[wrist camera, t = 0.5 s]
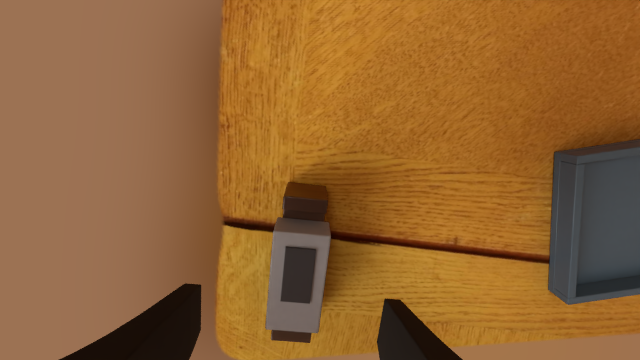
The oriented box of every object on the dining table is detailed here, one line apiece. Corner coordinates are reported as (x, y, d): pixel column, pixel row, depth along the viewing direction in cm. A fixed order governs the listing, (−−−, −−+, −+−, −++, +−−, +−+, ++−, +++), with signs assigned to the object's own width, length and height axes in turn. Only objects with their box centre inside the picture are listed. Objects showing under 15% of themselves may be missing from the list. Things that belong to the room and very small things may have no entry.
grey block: (317, 310, 19) (318, 335, 17) (270, 306, 18) (264, 332, 16) (329, 221, 17) (331, 237, 15) (277, 216, 17) (272, 231, 15)
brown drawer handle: (310, 310, 21) (310, 343, 18) (276, 307, 21) (270, 340, 18) (325, 185, 19) (328, 200, 16) (287, 181, 19) (283, 195, 16)
